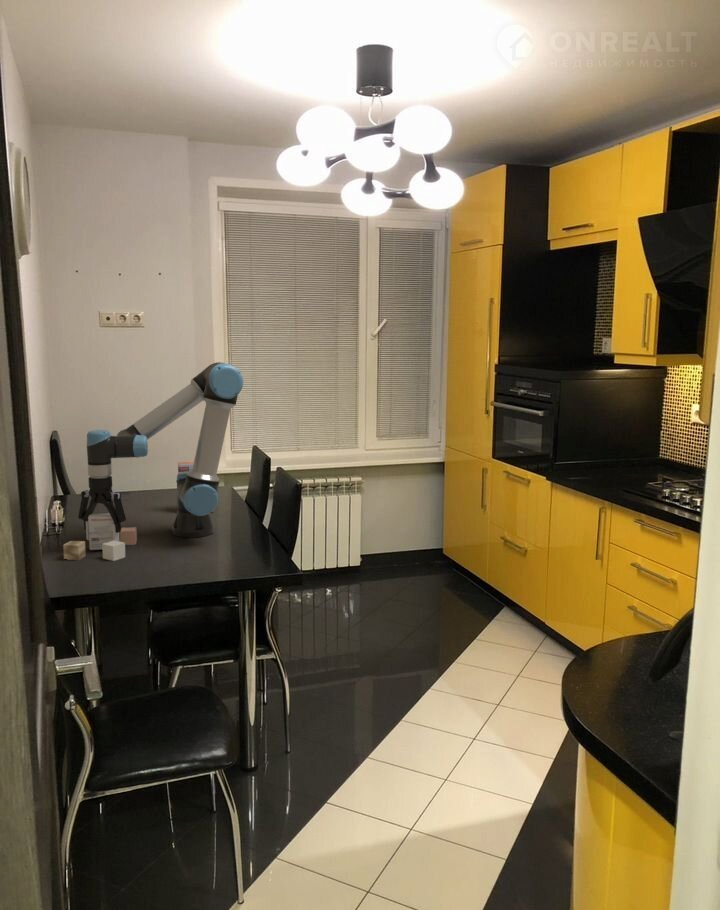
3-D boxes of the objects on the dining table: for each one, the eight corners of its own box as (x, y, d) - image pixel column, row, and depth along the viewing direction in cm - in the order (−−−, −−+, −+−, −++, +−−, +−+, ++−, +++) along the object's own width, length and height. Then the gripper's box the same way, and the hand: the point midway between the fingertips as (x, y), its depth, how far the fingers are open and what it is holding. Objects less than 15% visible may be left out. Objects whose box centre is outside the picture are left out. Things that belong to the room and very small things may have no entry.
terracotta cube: (136, 540, 263) (136, 527, 262) (135, 544, 258) (134, 531, 257) (122, 541, 262) (121, 527, 261) (120, 545, 257) (120, 531, 256)
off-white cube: (125, 557, 244) (124, 542, 243) (113, 561, 239) (113, 546, 239) (114, 554, 246) (114, 540, 245) (102, 558, 242) (102, 543, 241)
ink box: (116, 545, 255) (115, 511, 253) (115, 549, 250) (114, 515, 248) (90, 546, 253) (89, 513, 251) (89, 550, 248) (87, 516, 246)
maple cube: (85, 556, 244) (85, 541, 243) (78, 560, 239) (78, 545, 238) (70, 555, 244) (70, 540, 244) (63, 559, 239) (63, 544, 239)
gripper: (135, 476, 248) (137, 540, 252) (78, 472, 254) (81, 534, 257) (123, 480, 241) (125, 546, 245) (64, 476, 247) (67, 540, 250)
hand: (103, 540), depth 251 cm, fingers closed on ink box, 9 cm apart
